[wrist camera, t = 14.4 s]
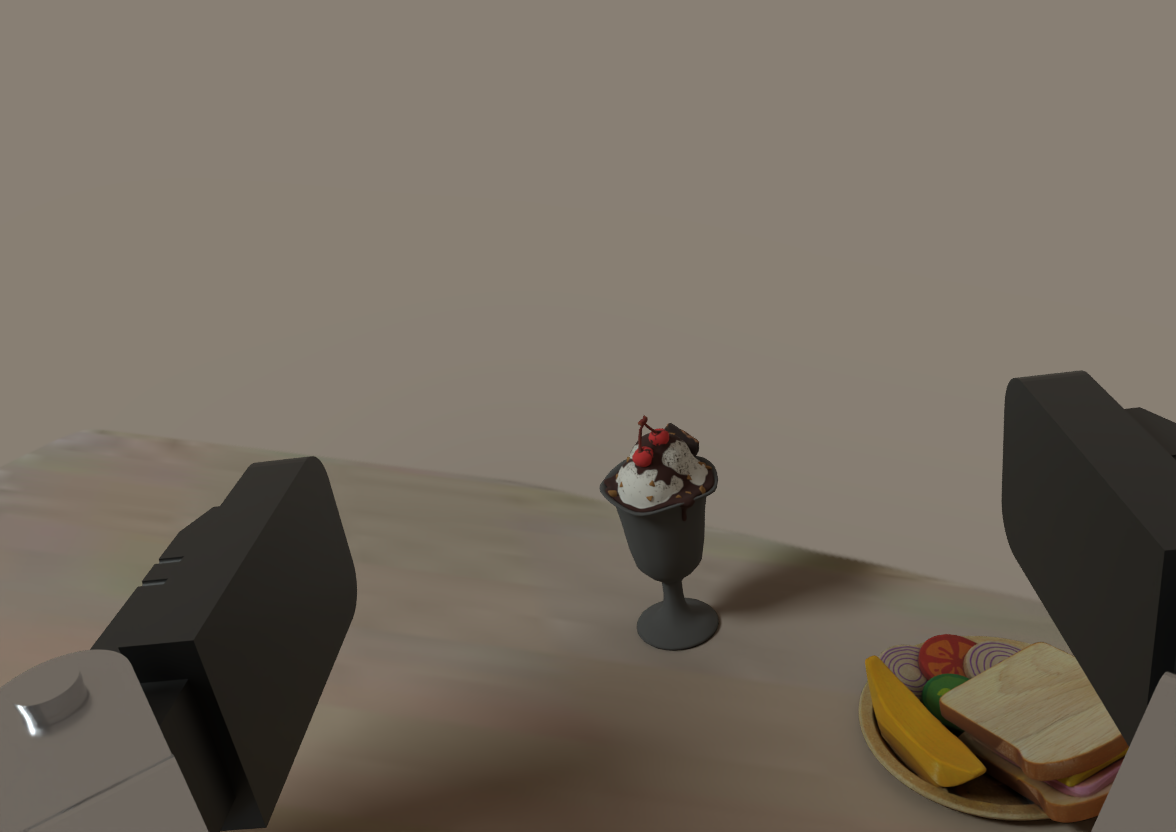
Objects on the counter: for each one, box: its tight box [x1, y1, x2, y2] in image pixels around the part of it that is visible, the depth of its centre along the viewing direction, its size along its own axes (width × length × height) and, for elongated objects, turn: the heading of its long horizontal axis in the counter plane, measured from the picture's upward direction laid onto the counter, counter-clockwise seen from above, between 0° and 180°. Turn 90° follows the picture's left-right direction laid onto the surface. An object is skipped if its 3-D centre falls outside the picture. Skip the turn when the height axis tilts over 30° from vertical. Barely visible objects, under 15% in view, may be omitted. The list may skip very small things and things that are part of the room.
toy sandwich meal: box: [859, 634, 1129, 823], centre depth 49 cm, size 12×14×5 cm
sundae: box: [600, 416, 719, 650], centre depth 58 cm, size 7×7×15 cm
